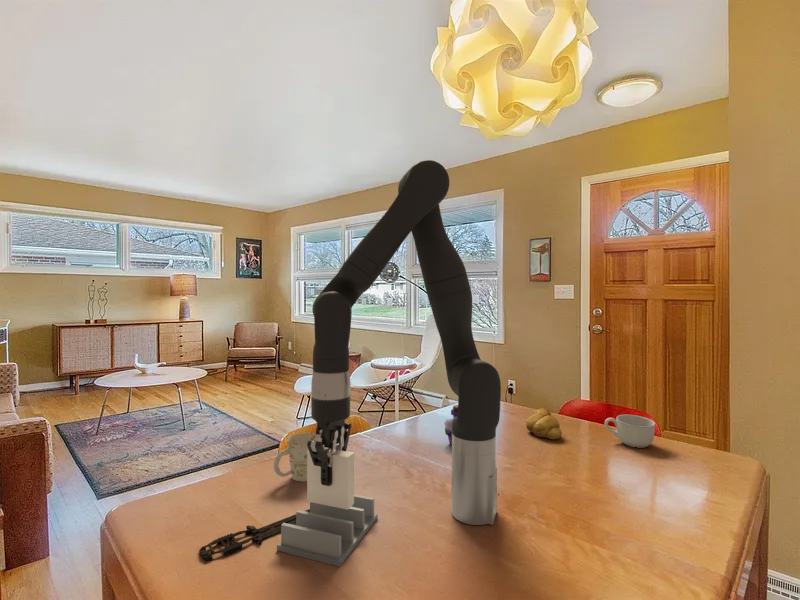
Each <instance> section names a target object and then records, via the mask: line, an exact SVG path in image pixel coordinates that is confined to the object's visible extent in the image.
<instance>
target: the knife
mask: <svg viewBox="0 0 800 600" xmlns="http://www.w3.org/2000/svg"><path fill="white" fill-rule="evenodd" d="M305 511H306V512H310V508H309V509H306V510H305ZM283 523H288V524H292V525H296V513H295V514H293V515H291V516H287V517H285V518H283V519H280V520H277V521H275V522H273V523H270V524H267V525H264V526H262V527H259V528H256V526H254V525H246V530H240V531H236V532H235V533H232V532H231V533H229V534H226V535H224V536H221V537H218V538H216V539H214V540H213V541H211V542H209V543H207V544H206V545H204V546H201V547H200V549H199V550H198V552H199V555H200V557H201V558H202V560H203V561H204V562H205V563H209V562H211V561H213V556H214V555H216V554H222V553H223V557H224V558H225V557H227V556H230V555H232V554H235V553H237V552H236V551H238V550H240V551H242V550H241V549H243V545H246V544H248V543H250V542H251V543H252V542H255V543H256V544H257V545H258V546H259V545H260V546H261V545H262V542H264V539H265V538H268V537H270V536H272V535H275V534H277V533H281V525H282V524H283ZM242 534H245V536H246V535H247V536H250V535H252V537H249V538H247V539H244V540H242V541H237V539H236V537H237V536H240V535H242ZM230 540H233V542H231V541H230ZM225 542H226V543H227V545H228V546H227V545H226V544H225ZM257 542H259V543H257ZM255 543H254V544H255ZM220 544H221V545H222V546H223V548H221V549H218V550H216V551H215V549H214V548H213V545H220ZM207 548H209V550H210V551H207ZM238 552H239V551H238ZM208 561H209V562H208Z"/></svg>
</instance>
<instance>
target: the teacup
mask: <svg viewBox="0 0 800 600" xmlns="http://www.w3.org/2000/svg"><path fill="white" fill-rule="evenodd" d="M609 422H613V423H614V426H615V428H616V429H615V430H614V429H612V428H611V427H610V426H609ZM604 426H605V428H606V429H607V430H608V431H609V432H610V433H612V434H613V435H614V436H615V437H616V438H618V439H619V440H620V441H621V442H622V443H623V444H625V445H626V446H629V447H632V448H635V447H637V448H636V449H644V448H646V447H648V446H650V445H652V444H653V442H654V440H655V430H656V429H655V428H656V427H655V426H656V422H655V421H654V420H652V419H650V418H647V417H645V416H640V415H636V414H635V415H634V414H619V415H617V416H616V418H614V417H607V418H606V419H605V421H604Z"/></svg>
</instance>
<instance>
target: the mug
mask: <svg viewBox="0 0 800 600" xmlns="http://www.w3.org/2000/svg"><path fill="white" fill-rule="evenodd" d="M315 437H316V432H315V433H314V432H299V433H296V434H292V435H290V436H289V437H288V438H287V441H286V442H287V448H284V449H282V450H281V451H279V452H278V454H277V455H276V457H275V459H274V462H273V470H274V472H275V474H276V475H277V476H280V477H288V476H289V475H291V478H292V480H293V481H295V482H303V483H304V482H307V451H308V447H307V443H308V441H309V440H311V441H313V440H314V438H315ZM285 455H288V457H289V465H290V470H288V471H286V472H283V471H281V469H280V467H279V463H280V460H281V458H282V457H283V456H285Z"/></svg>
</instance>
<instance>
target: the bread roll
mask: <svg viewBox="0 0 800 600" xmlns="http://www.w3.org/2000/svg"><path fill="white" fill-rule="evenodd" d="M525 422H526V423H525V425H526V429H527V430H528V431H529V432H530V433H533V434H534V436H537V437H541V438H546V439H548V438H549V440H558V439H560V438H561V437H562V435H563V433H562V430H561V427H560V422H559V420H557V418H556V417H554V416H553V415H552V413H551V412H550V410H549V409H548V408H546V407H541V408H538V410H537V411H536V413H535V414H533V415H530V416H529V417H528V418H527V419H526V421H525Z"/></svg>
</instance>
